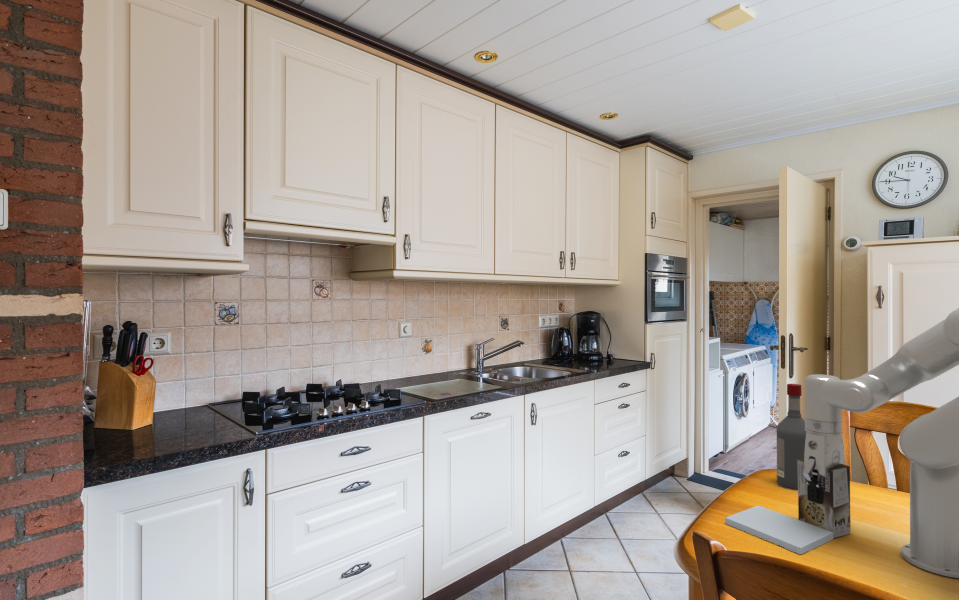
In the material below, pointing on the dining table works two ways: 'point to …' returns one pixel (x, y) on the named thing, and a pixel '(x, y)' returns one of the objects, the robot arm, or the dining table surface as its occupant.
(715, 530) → the dining table surface
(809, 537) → the chopping board
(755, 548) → the dining table surface
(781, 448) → the liquor
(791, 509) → the dining table surface
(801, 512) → the coffee box
